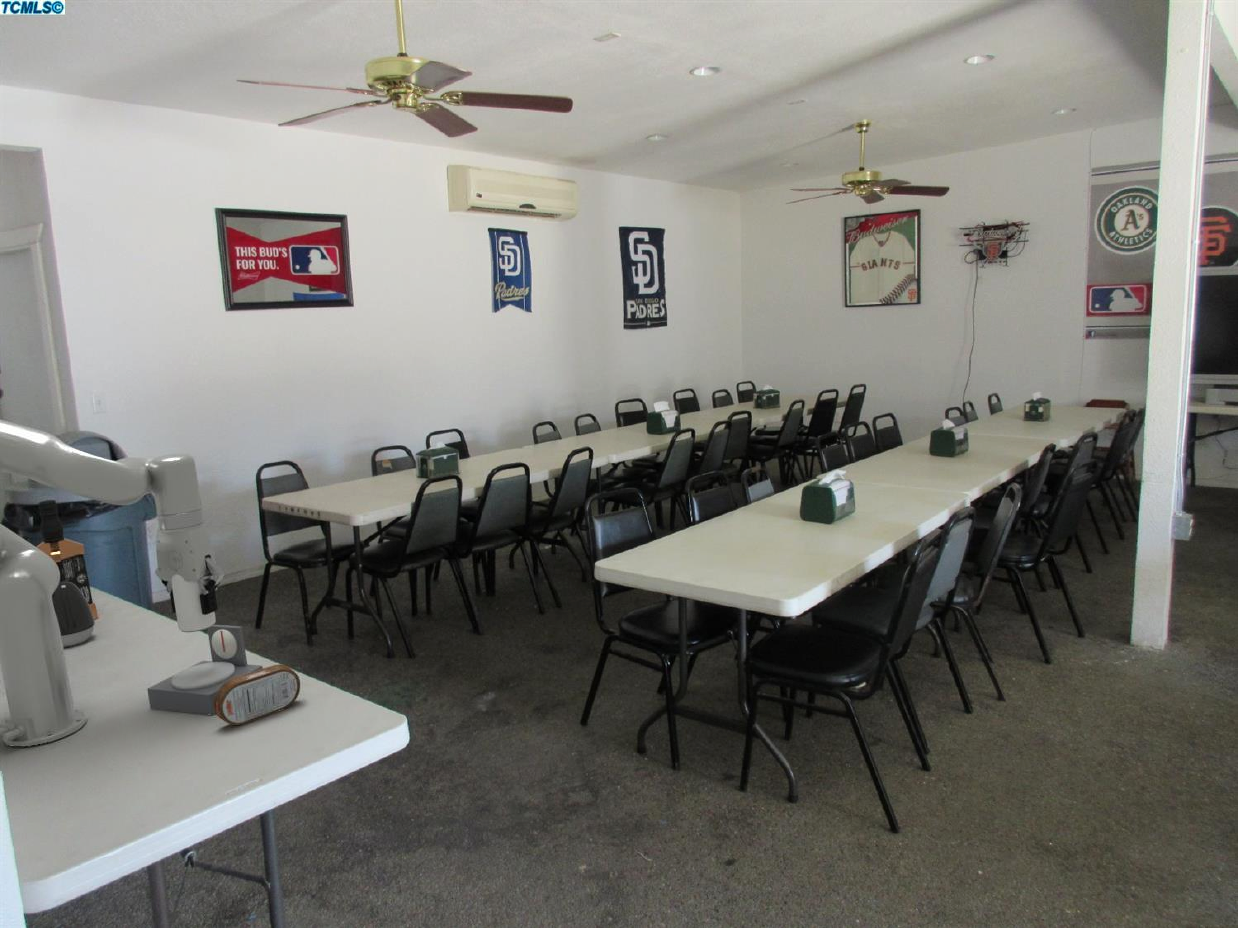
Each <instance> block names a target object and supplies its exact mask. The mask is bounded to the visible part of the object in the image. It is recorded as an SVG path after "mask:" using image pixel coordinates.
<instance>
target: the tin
mask: <svg viewBox="0 0 1238 928" xmlns="http://www.w3.org/2000/svg"><path fill="white" fill-rule="evenodd" d="M262 668H263V667H262ZM300 691H301V680H300V677H299V674H297V673H296V672H295V671H294V670H293V669H292V668H291V667H290V666H287V665H285V664H282V663H281V664H280V663H279V664H274V665H270V666H268V667H264V668H263V669H260V670H257V671H254V672H251V673H247V674H244V675H241V676H238V677H234V678H232V679H230V680H228V681H227V682H225V683H224V684H223V685H222V686H221V687H220V688H219V690H218V691H217V693H216V695H215V698H214V703H213V706H214V711H215V713H216V716H217V717H218V718H220V720H222V721H223V722H225V723H226V724H229V725H231V726H232V725H233V726H241V725H245V724H248V723H251V722H254V721H256V720H259V719H261V717H262V718H265V717H267V716H270V715H273V714H276V713H278V712H277V711H279V710H282V709H284V710H286V709H287V707H288V708H289V707H290V706H292V705H293V703H295V701H296V700H297V699H298V696H299V694H300ZM285 708H286V709H285ZM282 711H283V710H282ZM275 712H276V713H275ZM279 712H280V711H279ZM272 713H273V714H272ZM269 714H270V715H269ZM264 716H265V717H264Z"/></svg>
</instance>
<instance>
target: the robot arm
mask: <svg viewBox="0 0 1238 928" xmlns="http://www.w3.org/2000/svg"><path fill="white" fill-rule="evenodd" d="M0 472H3V473H7V474H10V475H15V476H19V477H22V478H26V479H30V480H32V481H35V482H37V483H39V484H41V485H45V486H48V487H51V488H53V489H57V490H60V491H62V492H65V493H68V494H70V495H74V496H77V497H80V498H81V497H82V498H86V499H90V500H93V501H97V502H101V503H105V504H108V505H114V506H130V505H133V504H135V503H137V502H139V501H140V500H141V499H142V498H144V496H145V495H147V494H153V497H154V502H155V509H156V514H157V516H156V519H157V521H158V529H157V530H156V536H155V537H156V540H155V549H156V550H155V551H156V561H157V562H156V563H157V568H156V569H155V571H154V572H155V573H154V574H155V575H156V577H158V578H159V580H160V581H161V583H162V585H164V587H165V589H166V592H167V593H169V598H170V604H171V609H172V613H174V614H176V609H175V603H174V596H173V590H172V583H171V580H172V577H173V576H174V575H180V576H181V577H183V578H184V580H185V581H187V582H197V584H198V586H199V588H200V590H201V592H202V594H201V595H200V602H201V609H202V614H203V615H207V614H209V613H212V612H216V611H217V610H218V603H217V602H218V601H217V596H216V591H217V590H218V586H219V585H220V584H221V581H222V579H223V578H224V576H225V572H224V570H223V569H222V568H221V567H220V566H219V565H218V564H217V563H216V557H215V551H214V547H213V544H212V539H211V535H210V533H209V530H208V528H207V525H206V524H205V520H204V513H203V508H202V499H201V494H200V487H199V480H198V474H197V468H196V462H195V458H194V456H192V455H191V454H189V453H188V454H187V453H175V454H174V453H173V454H165V455H161V456H156V457H124V458H121V459H118V460H112V459H109V458H104V457H101V456H97V455H95V454H91V453H87V452H84V451H81V450H79V449H77V448H74V447H73V446H70V445H68V444H67V443H65V442H64V441H62V440H61V439H60V438H58V437H57V436H56V435H54V434H52V433H49V432H47V431H44V430H40V429H36V428H32V427H29V426H25V425H21V424H18V423H16V422H15V423H14V422H11V421H7V420H3V419H0ZM176 571H177V572H176ZM205 572H206V575H207V576H204V574H205ZM206 579H207V583H208V584H207V585H205V583H204V580H206ZM59 581H60V571H59V568H58V566H57V564H56V563H55V562H54V560H53V559H52V558H50V557H49V556H48V555H47V554H45V553H44V552H42V551H41V550H40V549H38V548H37V546H35V545H33V544H32V543H31V542H29V541H27V540H25V539H24V538H23V537H21V536H20V535H18V534H17V533H15V532H14V531H12V530H10V529H9V528H8V527H6V526H5V525H3V524H1V523H0V671H1V675H2V680H3V681H2V682H3V684H4V690H5V694H6V695H5V696H6V701H7V705H8V711H9V715H10V716H9V715H8V716H7V717H4V724H3V725H1V726H0V741H1V740H3V742H4V744H5V745H6V746H8V745H13V746H28V747H32V746H31V745H35V746H39V745H38V744H40V745H43V743H44V744H48V743H50V742H55V741H57V740H60V739H63V738H64V737H67V736H70V735H71V734H74V733H75V732H77V731H79V730H80V729H81V728H83V726H84V725H85V724H86V723H87V720H88V719H87V714H86V712H84V711H82V710H78V709H76V708H75V703H74V698H73V693H72V688H71V682H70V675H69V672H68V665H67V660H66V655H65V650H64V648H65V647H63V643H62V639H61V633H60V628H59V624H58V620H57V617H56V613H55V610H54V606H53V601H52V594H53V593H54V591H55V590H56V588H57V586H58V584H59ZM47 742H48V743H47Z"/></svg>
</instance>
